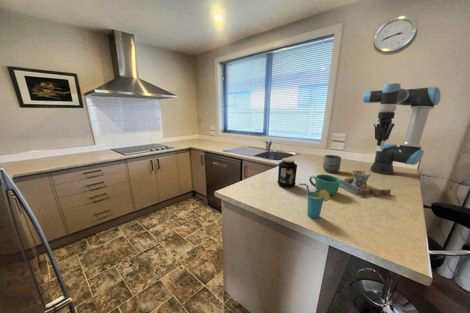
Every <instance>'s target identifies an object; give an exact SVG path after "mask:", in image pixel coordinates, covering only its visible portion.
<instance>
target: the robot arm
mask: <svg viewBox="0 0 470 313" xmlns="http://www.w3.org/2000/svg"><path fill="white" fill-rule="evenodd" d="M401 87H402V85H401V83H397V82H396V83H395V82H394V83H386V84H385V85H383V88H382V89H381V90H380V89H379V90H369V91H366V92H364V93H363V97H362V100H363V102H364V103H366V104H367V103H368V104H371V103H373V104H376V103H379V110H378V111H379V112H378V115H377V119H378V120H377V123H373V127H374V139H375V140H376V148H375V151H376V152H375V157H374V162H372V165H371V166H370V169H369V170H370V171H371V172H373V173H375V174H380V175H394V172H395V169H394V165H393V164H394V162H395V163H400V164H405V165H410V166H411V165H415V166H416V165H417V164H418V163H420V161H421V160H422V159H423V156H424V153H425V152H424V151H425V150H423V149H422V146H421V144H420V143H421V139H422V136H423V134H424V130H425V126H426V123H427V120H428V117H429V113H430V112H431V110H432V109H434V108H435V106H438V105H439V104H440V101H441V90H440V88H439V87H435V86H434V87H433V86H432V87H431V86H428V87H421V88H419V87H418V88H409V89H405V88H401ZM397 105H398V106H410V109H411V110H412V111H411V115H410V118H409V122H408V126H407V129H406V132H405V135H404V139H403V142H402V143H400V144H399V146H398V145H397V144H396V143H385V142H387V141H388V140H389V138H390V135H391V133H392V131H393V128H394V126H395V125H396V124H395V123H393V119H394V118H395V114H396V113H395V112H396V110H397Z"/></svg>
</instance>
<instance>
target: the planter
mask: <svg viewBox="0 0 470 313" xmlns="http://www.w3.org/2000/svg"><path fill="white" fill-rule="evenodd" d="M341 161H342V157H341V156H339V155H333V154H325V155H324V157H323V164H322V168H323V170H324V171H325V172H326V173H327V174H336V173H337V172H339V170H340V168H341V163H342V162H341Z"/></svg>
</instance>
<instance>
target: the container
mask: <svg viewBox="0 0 470 313" xmlns="http://www.w3.org/2000/svg"><path fill="white" fill-rule="evenodd" d="M297 168H298V164H297V163H295V159H294V158H291V157H283V158H282V159H281V162H279V163H278V173H277V184H278V185H279V186H281V187H285V188H292V187H294V186H295V185H296V184H297V183H296V180H297V178H296V177H297V171H298V170H297Z"/></svg>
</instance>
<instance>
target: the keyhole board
mask: <svg viewBox="0 0 470 313" xmlns="http://www.w3.org/2000/svg"><path fill="white" fill-rule="evenodd" d="M338 179H339V180H340V183H339V188H341V189H343V190H345V191H347V192H349V193H351V194H352V195H355V196H356V197H359V198H360V199H362V198H370V197H378V196H380V197H381V196H388V195H391V192H392V190H391V189H390V188H385V189H381V188H378V187H376V186H373V185H371V184H368V183H366V187H367V189H363V190H360V188H358V187H356V186H354V185H352V183H353V181H354V177H351V178H350V177H349V178H344V180H343V179H340V178H338Z"/></svg>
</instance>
